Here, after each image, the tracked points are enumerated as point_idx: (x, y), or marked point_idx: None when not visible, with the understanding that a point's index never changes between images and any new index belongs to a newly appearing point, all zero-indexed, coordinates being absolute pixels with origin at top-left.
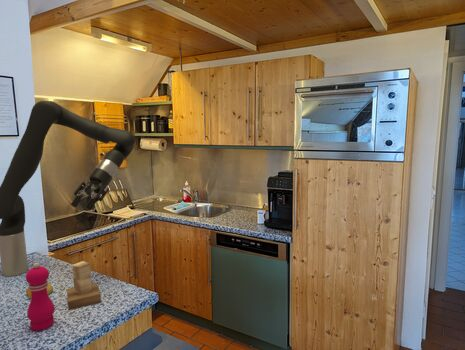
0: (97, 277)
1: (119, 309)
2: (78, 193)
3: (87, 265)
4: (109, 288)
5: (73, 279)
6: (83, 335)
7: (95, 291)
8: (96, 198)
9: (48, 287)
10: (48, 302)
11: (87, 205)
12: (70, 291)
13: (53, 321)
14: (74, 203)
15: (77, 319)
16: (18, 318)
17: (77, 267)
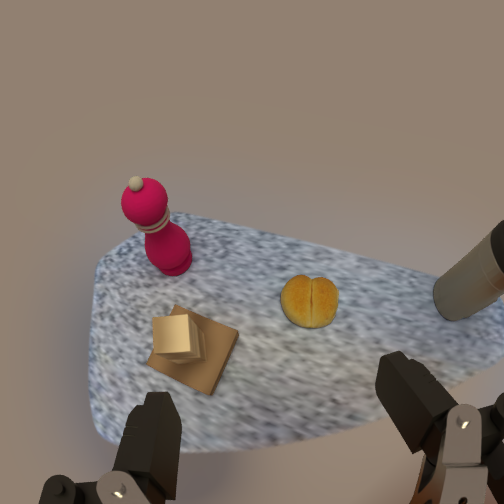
0: (283, 431)
1: (102, 366)
2: (468, 436)
3: (154, 345)
4: (195, 416)
5: (197, 326)
6: (94, 285)
7: (166, 365)
8: (80, 484)
9: (291, 309)
10: (146, 245)
11: (145, 405)
12: (216, 330)
13: (161, 271)
14: (390, 380)
15: (137, 303)
16: (232, 242)
17: (162, 317)
